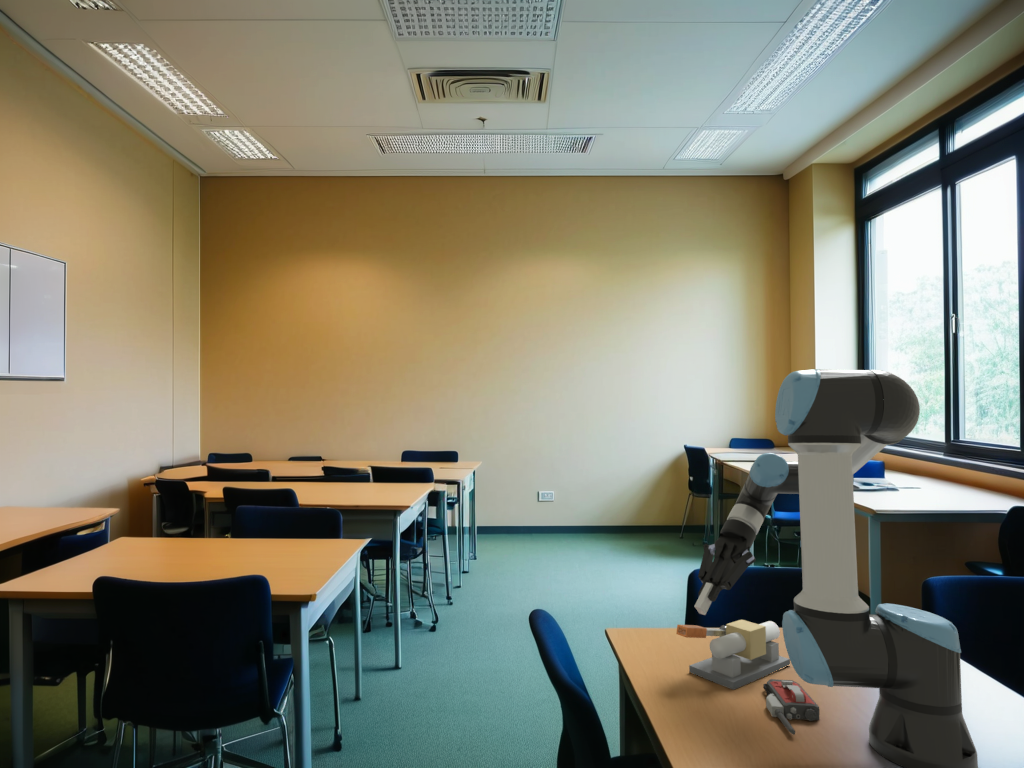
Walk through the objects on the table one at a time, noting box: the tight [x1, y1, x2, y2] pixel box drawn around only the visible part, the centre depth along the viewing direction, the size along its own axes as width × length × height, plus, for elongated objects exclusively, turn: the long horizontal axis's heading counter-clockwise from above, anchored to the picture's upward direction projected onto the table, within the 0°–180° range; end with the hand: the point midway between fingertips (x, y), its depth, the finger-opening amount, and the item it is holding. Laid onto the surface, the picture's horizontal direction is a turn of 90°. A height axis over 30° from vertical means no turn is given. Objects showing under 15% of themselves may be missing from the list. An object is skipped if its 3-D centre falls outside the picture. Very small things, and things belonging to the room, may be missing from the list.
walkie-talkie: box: [762, 678, 821, 735], centre depth 117 cm, size 9×4×20 cm
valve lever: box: [676, 624, 726, 639], centre depth 137 cm, size 3×3×17 cm
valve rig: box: [688, 619, 791, 690], centre depth 138 cm, size 22×11×10 cm, turn 126°
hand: (699, 610), depth 136 cm, fingers closed
